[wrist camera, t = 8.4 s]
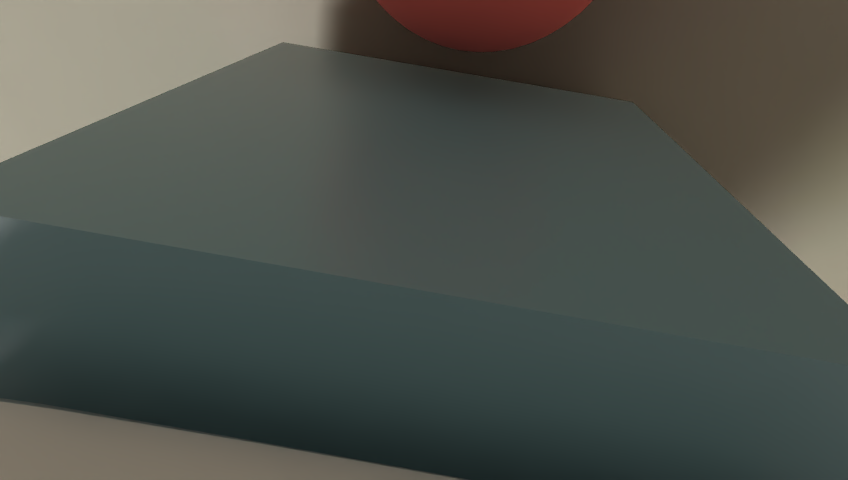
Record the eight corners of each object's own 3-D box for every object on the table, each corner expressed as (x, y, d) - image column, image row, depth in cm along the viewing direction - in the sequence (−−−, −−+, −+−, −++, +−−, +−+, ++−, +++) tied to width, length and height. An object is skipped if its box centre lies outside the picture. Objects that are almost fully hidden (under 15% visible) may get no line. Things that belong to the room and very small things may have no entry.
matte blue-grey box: (632, 101, 12) (926, 379, 4) (543, 373, 15) (609, 796, 8) (282, 42, 12) (-89, 200, 4) (275, 325, 16) (69, 696, 8)
